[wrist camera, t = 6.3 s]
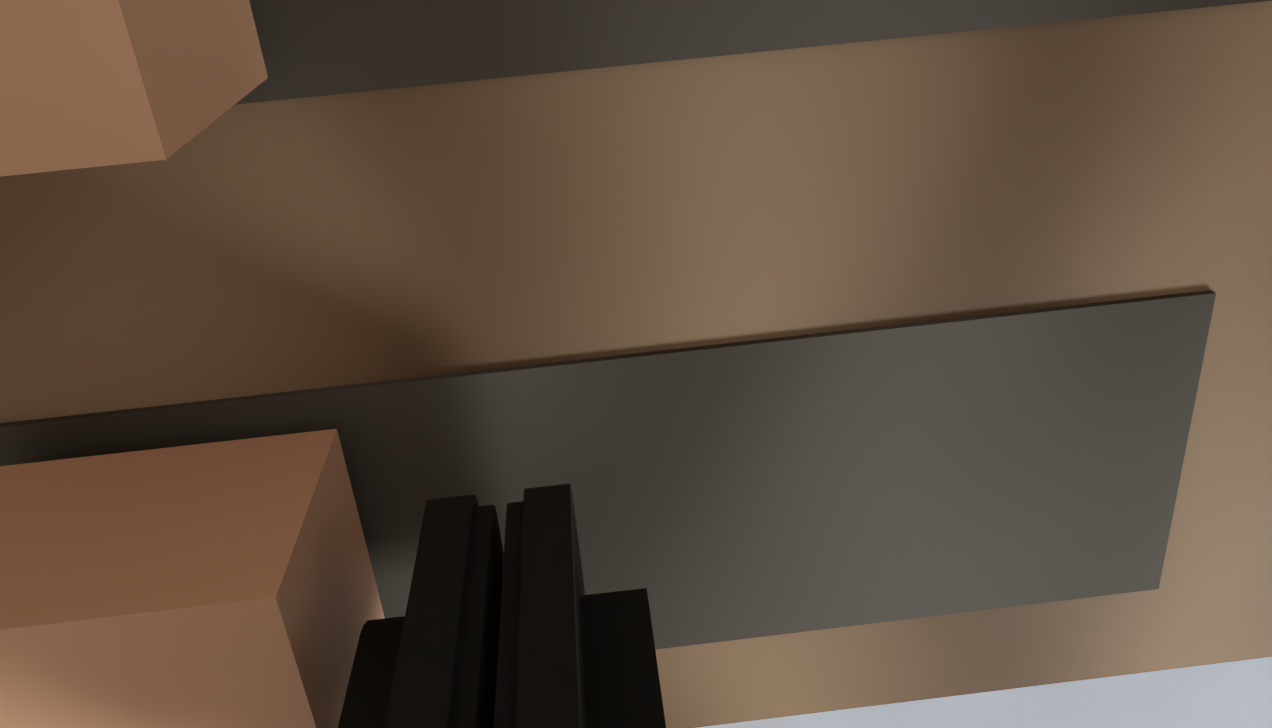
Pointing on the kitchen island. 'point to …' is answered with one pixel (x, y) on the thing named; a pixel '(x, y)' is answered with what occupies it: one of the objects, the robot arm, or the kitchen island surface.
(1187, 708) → the kitchen island surface
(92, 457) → the tab
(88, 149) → the tab
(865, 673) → the switch board
